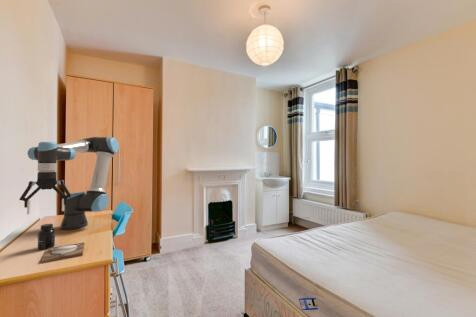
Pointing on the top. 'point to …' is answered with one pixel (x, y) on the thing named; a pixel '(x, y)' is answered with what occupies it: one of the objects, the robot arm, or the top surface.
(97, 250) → the top surface
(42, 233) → the supplement bottle
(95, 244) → the top surface
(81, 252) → the board
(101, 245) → the top surface
